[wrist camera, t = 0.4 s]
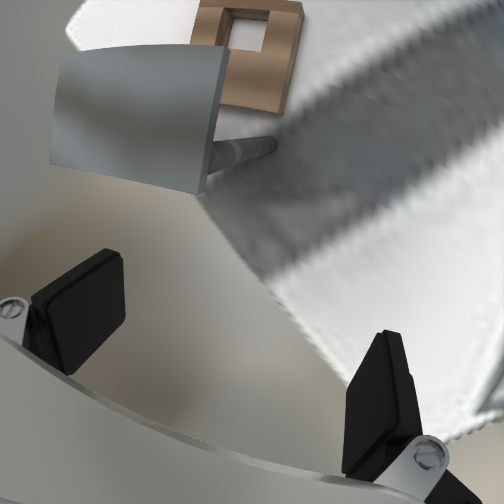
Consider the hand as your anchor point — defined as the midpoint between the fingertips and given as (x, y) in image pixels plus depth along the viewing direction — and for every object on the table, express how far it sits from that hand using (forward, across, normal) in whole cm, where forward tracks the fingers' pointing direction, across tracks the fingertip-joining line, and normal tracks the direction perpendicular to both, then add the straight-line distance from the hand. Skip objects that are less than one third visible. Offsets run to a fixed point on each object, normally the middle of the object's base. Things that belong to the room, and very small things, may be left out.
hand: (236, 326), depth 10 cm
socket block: (+30, +10, -12) cm, 34 cm away
